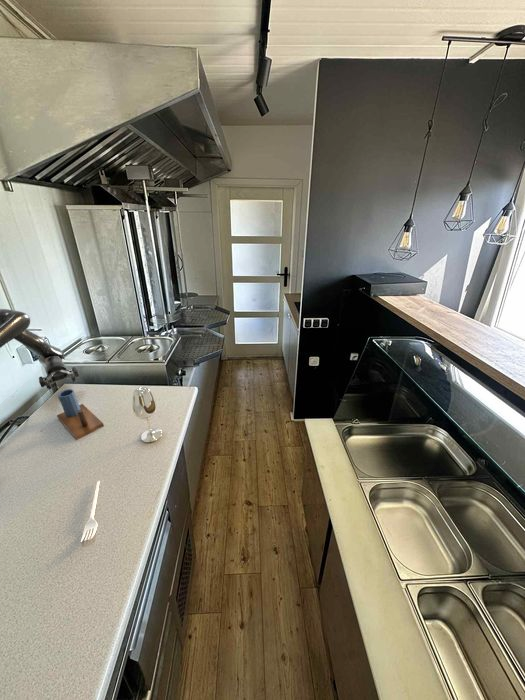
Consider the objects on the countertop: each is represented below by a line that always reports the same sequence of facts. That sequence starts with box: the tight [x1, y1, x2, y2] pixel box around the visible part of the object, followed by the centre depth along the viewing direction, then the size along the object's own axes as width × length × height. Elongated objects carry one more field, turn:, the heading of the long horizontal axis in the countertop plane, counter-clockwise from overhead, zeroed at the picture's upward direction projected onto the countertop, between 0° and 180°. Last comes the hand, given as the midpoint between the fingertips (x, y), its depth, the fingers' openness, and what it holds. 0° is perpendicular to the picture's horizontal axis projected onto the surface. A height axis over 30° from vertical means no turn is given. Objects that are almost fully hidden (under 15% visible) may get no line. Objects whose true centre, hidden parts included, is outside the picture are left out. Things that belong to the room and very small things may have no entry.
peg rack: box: [56, 403, 105, 441], centre depth 114 cm, size 10×20×8 cm, turn 50°
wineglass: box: [131, 386, 163, 443], centre depth 104 cm, size 8×8×20 cm
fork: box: [80, 480, 101, 543], centre depth 81 cm, size 3×20×2 cm, turn 20°
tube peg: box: [57, 388, 81, 417], centre depth 117 cm, size 5×5×10 cm
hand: (61, 383), depth 121 cm, fingers open, 8 cm apart
